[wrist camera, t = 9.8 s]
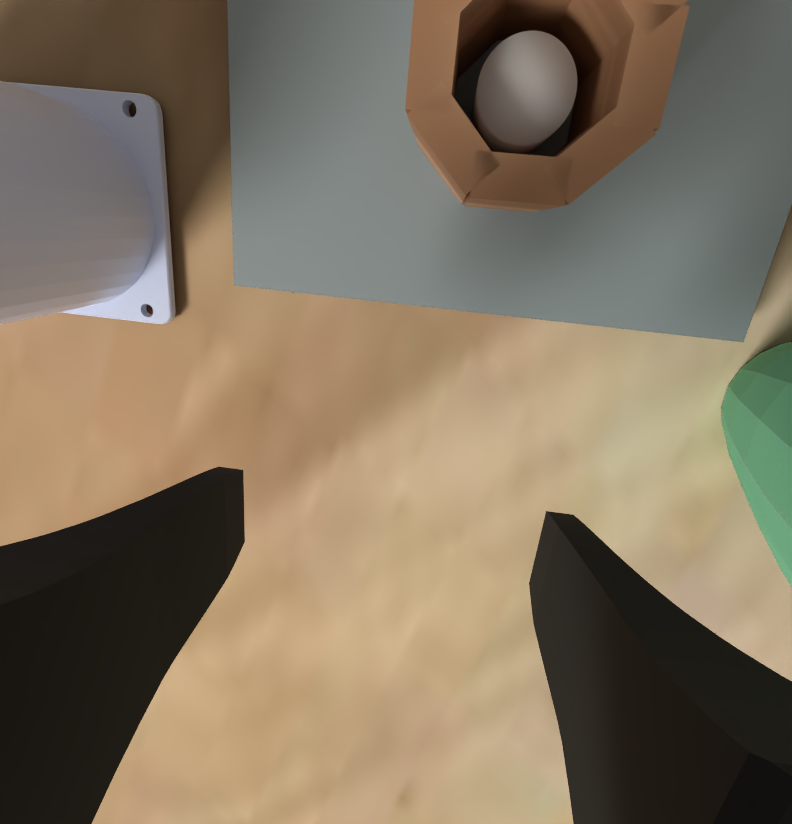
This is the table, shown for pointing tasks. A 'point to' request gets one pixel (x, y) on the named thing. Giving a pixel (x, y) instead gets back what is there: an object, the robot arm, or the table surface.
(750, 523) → the table surface
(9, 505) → the table surface
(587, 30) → the tube
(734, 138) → the post board
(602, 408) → the table surface
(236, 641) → the table surface
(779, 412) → the mug
